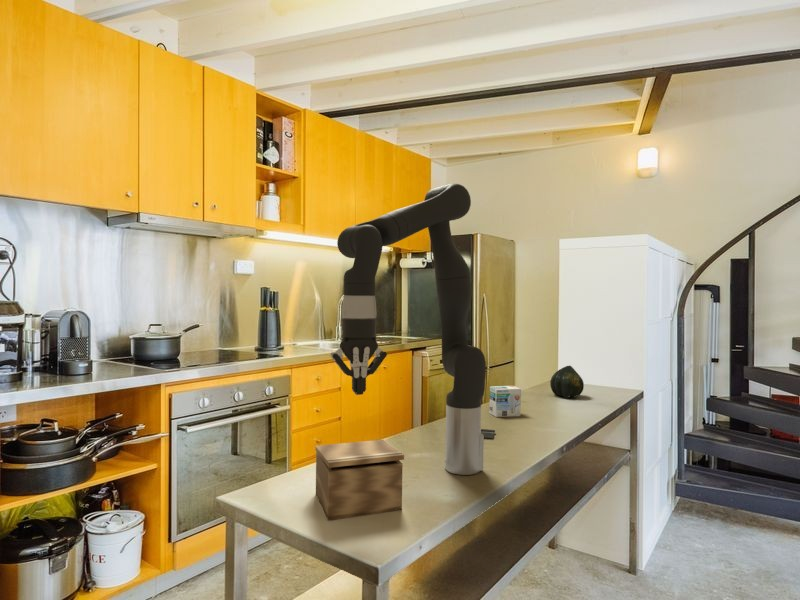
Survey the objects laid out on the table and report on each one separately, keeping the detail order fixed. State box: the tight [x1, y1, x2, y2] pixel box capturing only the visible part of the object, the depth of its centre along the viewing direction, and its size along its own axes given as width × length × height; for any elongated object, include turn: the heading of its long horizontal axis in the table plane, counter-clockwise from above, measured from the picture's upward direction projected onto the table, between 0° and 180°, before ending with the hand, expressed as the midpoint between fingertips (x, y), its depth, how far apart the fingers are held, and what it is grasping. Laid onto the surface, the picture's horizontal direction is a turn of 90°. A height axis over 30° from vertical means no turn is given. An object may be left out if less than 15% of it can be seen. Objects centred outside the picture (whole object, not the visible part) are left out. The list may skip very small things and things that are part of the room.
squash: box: [549, 365, 585, 399], centre depth 229 cm, size 14×15×15 cm
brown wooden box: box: [315, 451, 403, 522], centre depth 110 cm, size 16×14×10 cm
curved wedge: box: [481, 428, 496, 440], centre depth 164 cm, size 8×14×2 cm, turn 76°
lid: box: [315, 439, 405, 468], centre depth 110 cm, size 16×14×1 cm
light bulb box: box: [488, 385, 522, 418], centre depth 192 cm, size 11×7×11 cm, turn 104°
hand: (358, 393), depth 110 cm, fingers closed
